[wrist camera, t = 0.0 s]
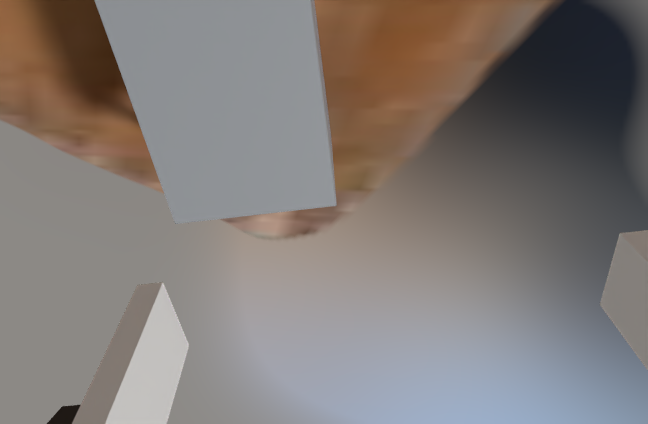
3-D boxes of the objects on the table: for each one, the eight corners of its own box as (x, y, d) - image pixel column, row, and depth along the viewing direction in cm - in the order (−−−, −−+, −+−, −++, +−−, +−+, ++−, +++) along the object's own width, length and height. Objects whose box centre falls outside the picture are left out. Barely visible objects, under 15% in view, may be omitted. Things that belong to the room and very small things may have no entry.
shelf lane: (153, -31, 34) (91, -10, 24) (307, -53, 33) (305, -39, 24) (206, 155, 42) (175, 225, 33) (331, 140, 41) (336, 206, 32)
